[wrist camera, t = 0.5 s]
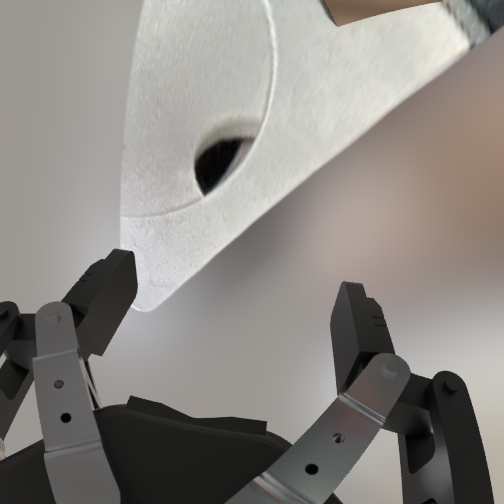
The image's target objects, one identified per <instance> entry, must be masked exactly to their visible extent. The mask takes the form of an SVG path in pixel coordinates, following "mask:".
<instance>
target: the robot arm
mask: <svg viewBox="0 0 504 504" xmlns="http://www.w3.org/2000/svg"><path fill="white" fill-rule="evenodd" d="M137 289H138V282H137V274H136V265H135V256H134V253H133V252H132V251H128V250H121V249H113V250H112V252H111V253H110V254H109V255H108V256H107V257H106V259H101V260H99V261H97V262H96V263H94V264H92V265H91V266H90V267H89V268H88V270H87V271H86V272H85V274H83V275H82V277H81V278H80V279H79V281H77V282H76V284H75V285H74V286H73V287H72V288H71V290H70V291H69V292H68V293H67V295H66V296H65V297H64V298H63V299H62V301H61V302H58V301H57V302H51V303H48V304H46V305H44V306H42V307H41V308H40V309H39V310H38V311H37V313H36V314H20V312H19V309H18V307H17V305H16V304H15V303H14V302H10V301H5V302H1V303H0V357H1V356H2V354H3V352H4V354H5V356H6V358H7V359H6V360H5V362H4V364H3V365H2V367H1V368H0V504H343V503H342V502H341V501H340V500H339V499H338V497H337V496H336V495H335V494H334V493H333V491H334V490H335V489H336V488H337V486H338V485H339V484H340V483H341V482H342V480H343V479H344V478H345V477H346V475H347V474H348V473H349V471H350V470H351V469H352V467H353V466H354V465H355V464H356V462H357V461H358V460H359V458H360V457H361V456H362V454H363V453H364V452H365V450H366V449H367V447H368V446H369V444H370V443H371V442H372V440H373V439H374V437H375V436H376V434H377V433H378V431H379V430H380V428H382V429H385V430H388V431H392V432H395V433H397V434H398V444H399V453H400V464H401V477H402V492H403V504H494V498H493V492H492V486H491V481H490V476H489V470H488V466H487V461H486V456H485V452H484V447H483V443H482V439H481V436H480V431H479V427H478V424H477V420H476V417H475V413H474V410H473V406H472V403H471V399H470V396H469V393H468V390H467V387H466V384H465V383H464V381H463V380H462V379H461V378H460V377H459V376H458V375H457V374H455V373H453V372H450V371H441V372H438V373H437V374H436V375H435V376H434V377H433V379H429V378H425V377H422V376H418V375H415V374H413V373H411V371H410V368H409V366H408V364H407V363H406V362H405V361H404V360H403V359H402V358H401V357H399V356H397V355H396V354H395V351H394V347H393V344H392V341H391V337H390V334H389V331H388V328H387V324H386V321H385V319H384V315H383V312H382V309H381V307H380V305H379V304H378V303H377V302H376V301H375V300H374V299H373V298H367V297H366V293H365V290H364V287H363V284H360V283H353V282H345V281H343V282H342V284H341V286H340V289H339V293H338V296H337V299H336V302H335V305H334V308H333V311H332V315H331V322H330V330H331V339H332V347H333V356H334V366H335V375H336V386H337V395H338V397H337V398H336V399H335V401H334V402H333V403H332V404H331V405H330V406H329V407H328V409H327V410H326V411H325V412H324V413H323V414H322V415H321V416H320V417H319V418H318V420H317V421H316V422H315V423H314V424H313V425H312V426H311V427H310V428H309V429H308V430H307V431H306V432H305V433H304V434H303V435H302V436H301V437H300V438H299V439H298V440H297V441H296V442H295V443H294V445H292V444H291V443H290V442H288V441H287V440H285V439H284V438H282V437H280V436H278V435H276V434H274V433H271V432H269V431H266V426H267V421H259V420H252V419H244V418H237V417H219V418H193V417H190V416H188V415H186V414H183V413H181V412H179V411H177V410H175V409H172V408H170V407H168V406H166V405H164V404H162V403H158V402H153V401H150V400H146V399H142V398H138V397H134V396H130V398H129V400H128V402H127V404H120V405H111V406H107V407H102V404H101V402H100V399H99V396H98V393H97V389H96V385H95V382H94V378H93V375H92V371H91V367H90V364H89V361H88V358H89V356H90V355H91V354H95V355H99V356H102V355H103V353H104V352H105V350H106V348H107V346H108V344H109V343H110V341H111V339H112V337H113V335H114V334H115V332H116V330H117V328H118V326H119V325H120V323H121V321H122V319H123V318H124V316H125V315H126V313H127V311H128V309H129V308H130V306H131V304H132V303H133V301H134V299H135V297H136V294H137ZM33 381H34V382H35V391H36V398H37V405H38V412H39V418H40V424H41V429H42V434H43V439H42V440H40V441H38V442H36V443H34V444H32V445H30V446H28V447H26V448H24V449H22V450H20V451H19V452H17V453H15V454H13V455H11V456H9V457H7V458H6V456H5V455H4V452H5V447H4V443H3V441H4V438H5V436H6V434H7V432H8V430H9V428H10V425H11V424H12V421H13V419H14V417H15V415H16V413H17V411H18V409H19V407H20V405H21V403H22V401H23V399H24V398H25V395H26V394H27V392H28V390H29V388H30V386H31V384H32V382H33Z"/></svg>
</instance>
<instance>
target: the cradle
mask: <svg viewBox="0 0 504 504" xmlns="http://www.w3.org/2000/svg"><path fill="white" fill-rule="evenodd" d="M441 1H442V0H324V2H325V4H326V6H327V8H328V10H329V12H330V13H331V15H332V17H333V19H334V21H335V23H336V25H337V27H339V26H342V25H345V24H348V23H351V22H355V21H358V20H361V19H365V18H369V17H372V16H376V15H380V14H383V13H387V12H391V11H396V10H400V9H404V8H409V7H414V6H419V5H424V4H429V3H435V2H441Z"/></svg>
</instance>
